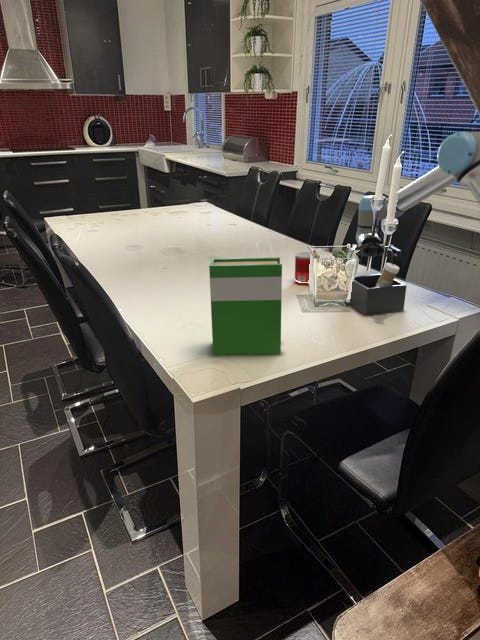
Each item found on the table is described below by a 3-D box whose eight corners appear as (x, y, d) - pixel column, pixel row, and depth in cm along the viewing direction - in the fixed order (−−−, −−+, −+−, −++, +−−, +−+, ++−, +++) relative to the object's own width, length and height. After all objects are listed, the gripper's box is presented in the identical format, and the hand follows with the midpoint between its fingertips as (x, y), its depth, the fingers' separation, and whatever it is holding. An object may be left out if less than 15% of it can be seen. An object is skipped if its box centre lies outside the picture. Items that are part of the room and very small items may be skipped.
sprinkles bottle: (369, 297, 156) (386, 260, 150) (382, 302, 155) (400, 266, 149) (368, 301, 152) (385, 264, 146) (381, 307, 151) (399, 269, 145)
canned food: (318, 284, 177) (319, 256, 173) (298, 286, 176) (299, 257, 172) (311, 278, 184) (312, 251, 180) (292, 280, 183) (292, 253, 179)
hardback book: (278, 342, 129) (279, 257, 120) (280, 354, 122) (281, 264, 113) (214, 343, 129) (211, 258, 120) (213, 355, 122) (209, 266, 113)
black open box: (403, 311, 149) (406, 284, 146) (365, 315, 146) (367, 289, 143) (380, 298, 162) (383, 273, 158) (345, 302, 158) (346, 277, 155)
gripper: (400, 255, 168) (412, 272, 147) (338, 254, 171) (342, 270, 150) (402, 234, 165) (415, 248, 144) (340, 233, 168) (344, 247, 147)
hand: (378, 260), depth 147 cm, fingers open, 9 cm apart
